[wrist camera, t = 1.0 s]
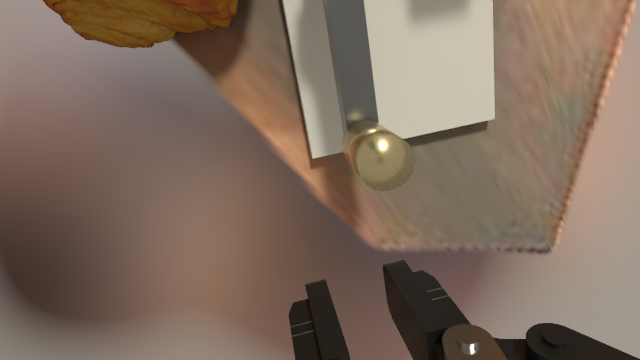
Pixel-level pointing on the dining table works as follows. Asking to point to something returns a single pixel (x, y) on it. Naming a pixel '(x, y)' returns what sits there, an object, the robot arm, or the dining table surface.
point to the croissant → (142, 18)
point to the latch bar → (362, 101)
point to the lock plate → (399, 66)
